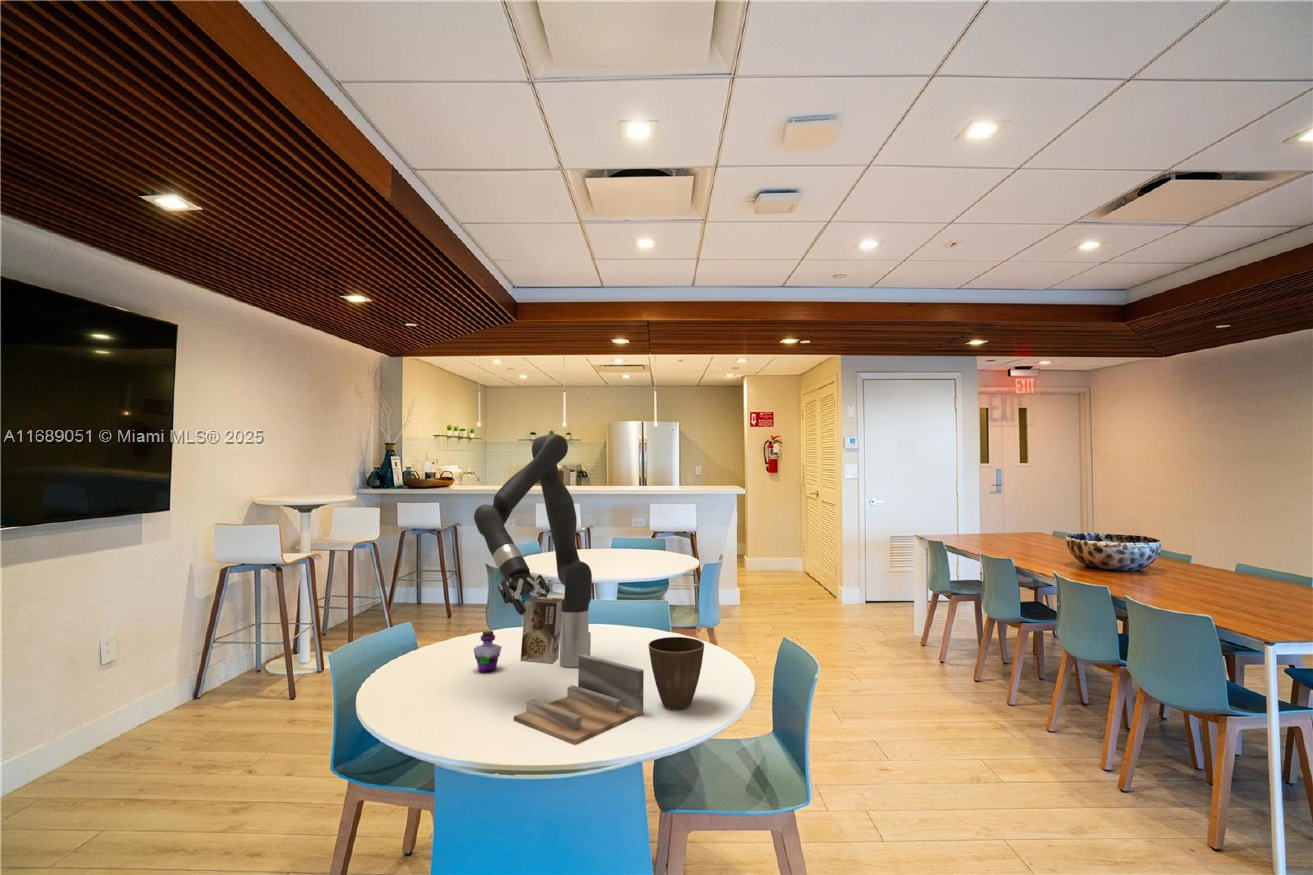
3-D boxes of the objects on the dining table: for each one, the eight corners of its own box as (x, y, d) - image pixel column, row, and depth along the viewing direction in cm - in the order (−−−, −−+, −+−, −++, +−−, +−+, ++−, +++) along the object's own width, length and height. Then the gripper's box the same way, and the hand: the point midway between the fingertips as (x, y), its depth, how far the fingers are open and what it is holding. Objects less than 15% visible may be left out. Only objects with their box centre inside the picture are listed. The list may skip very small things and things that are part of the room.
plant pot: (687, 720, 153) (687, 654, 154) (637, 708, 161) (637, 646, 162) (714, 702, 166) (713, 641, 167) (666, 692, 173) (666, 634, 174)
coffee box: (559, 658, 168) (564, 598, 169) (552, 665, 161) (557, 602, 162) (526, 654, 169) (532, 595, 170) (519, 661, 162) (524, 599, 163)
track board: (583, 694, 171) (583, 654, 172) (643, 713, 157) (643, 669, 158) (513, 720, 153) (514, 675, 153) (574, 744, 139) (575, 694, 139)
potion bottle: (474, 675, 187) (475, 635, 188) (471, 667, 195) (472, 629, 196) (503, 672, 190) (504, 633, 191) (499, 664, 198) (500, 627, 199)
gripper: (495, 557, 167) (520, 606, 159) (536, 552, 178) (562, 598, 170) (483, 575, 170) (508, 623, 162) (525, 569, 181) (550, 614, 173)
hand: (536, 610), depth 166 cm, fingers closed on coffee box, 8 cm apart
